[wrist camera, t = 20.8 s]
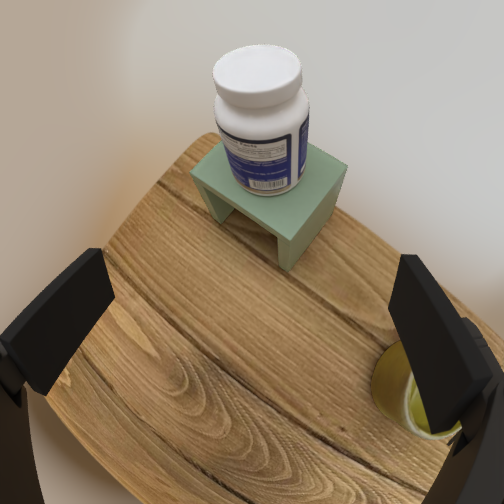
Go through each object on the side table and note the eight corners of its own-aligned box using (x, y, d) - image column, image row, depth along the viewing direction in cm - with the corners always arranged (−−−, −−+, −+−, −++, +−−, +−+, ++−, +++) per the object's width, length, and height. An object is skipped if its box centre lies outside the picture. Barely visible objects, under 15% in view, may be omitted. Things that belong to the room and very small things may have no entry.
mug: (332, 394, 23) (412, 399, 14) (389, 318, 27) (464, 293, 18) (396, 459, 22) (468, 472, 13) (440, 387, 26) (509, 379, 17)
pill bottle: (267, 129, 23) (256, 30, 14) (319, 165, 22) (335, 63, 12) (217, 170, 22) (181, 73, 13) (269, 213, 21) (257, 115, 11)
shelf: (213, 218, 31) (188, 172, 23) (258, 167, 33) (250, 112, 24) (288, 273, 29) (290, 241, 20) (332, 214, 30) (348, 165, 22)
